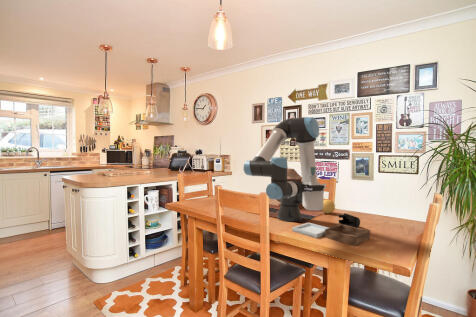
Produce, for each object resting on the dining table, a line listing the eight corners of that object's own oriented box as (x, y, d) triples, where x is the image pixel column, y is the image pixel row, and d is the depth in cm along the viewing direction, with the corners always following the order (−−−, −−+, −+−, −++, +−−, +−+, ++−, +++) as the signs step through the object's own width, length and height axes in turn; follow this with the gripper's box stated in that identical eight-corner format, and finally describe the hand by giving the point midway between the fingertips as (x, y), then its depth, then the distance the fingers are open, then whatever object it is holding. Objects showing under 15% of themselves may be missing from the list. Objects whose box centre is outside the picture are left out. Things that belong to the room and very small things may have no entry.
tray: (292, 230, 138) (292, 227, 138) (308, 225, 147) (308, 222, 147) (316, 238, 126) (316, 234, 126) (332, 232, 136) (332, 228, 136)
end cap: (360, 228, 143) (360, 216, 143) (349, 229, 141) (350, 217, 141) (348, 223, 152) (348, 212, 152) (338, 224, 150) (338, 213, 150)
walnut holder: (324, 237, 128) (325, 229, 128) (340, 231, 138) (340, 223, 138) (355, 245, 116) (355, 237, 116) (369, 238, 126) (369, 230, 126)
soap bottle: (324, 211, 132) (324, 167, 131) (305, 211, 132) (306, 167, 131) (318, 207, 141) (319, 166, 141) (301, 207, 141) (302, 166, 141)
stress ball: (336, 215, 175) (335, 204, 183) (334, 206, 170) (333, 195, 177) (321, 216, 179) (320, 205, 186) (319, 208, 173) (318, 196, 180)
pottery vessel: (276, 209, 191) (276, 169, 190) (269, 202, 216) (269, 167, 215) (309, 208, 193) (310, 169, 192) (298, 202, 218) (299, 167, 218)
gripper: (275, 193, 133) (301, 189, 147) (310, 199, 116) (335, 194, 131) (275, 179, 133) (301, 176, 147) (311, 183, 116) (336, 180, 131)
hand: (317, 185), depth 139 cm, fingers closed on soap bottle, 9 cm apart
